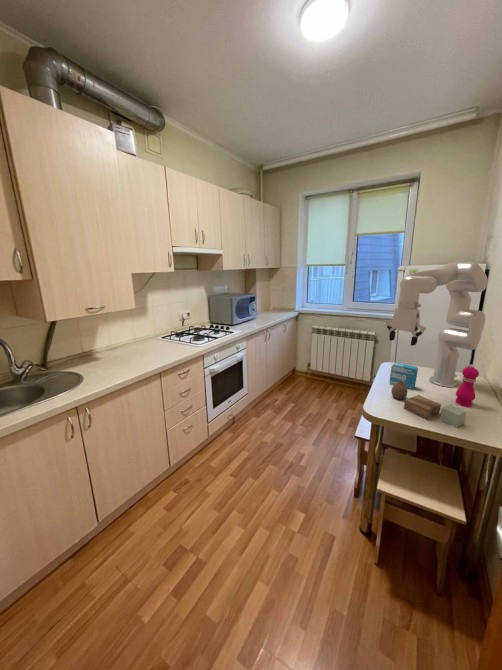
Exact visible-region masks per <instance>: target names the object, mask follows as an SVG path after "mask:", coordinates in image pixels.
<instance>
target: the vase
mask: <svg viewBox="0 0 502 670" xmlns="http://www.w3.org/2000/svg"><path fill="white" fill-rule="evenodd" d="M391 395H392V397H393V398H394V399H396V400H404V399H405V398H407V395H408V389H407V387H406V386H405V384H404V382H403V381H398V382H397V383H396V384H395V385H392V387H391Z"/></svg>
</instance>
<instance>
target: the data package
mask: <svg viewBox="0 0 502 670" xmlns="http://www.w3.org/2000/svg"><path fill="white" fill-rule="evenodd" d="M418 370H419V368H418V367H417V366H416V365H415V366H414V365H412V364H405V363H399V362H393V364H392V365H391V368H390V376H389V384H390V385H392V386H394V385H395V384H396V383H397V382H398V381H403V382H404V384H405V386H406V387H407V390H414V388H415V386H416V383H417V377H418Z"/></svg>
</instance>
